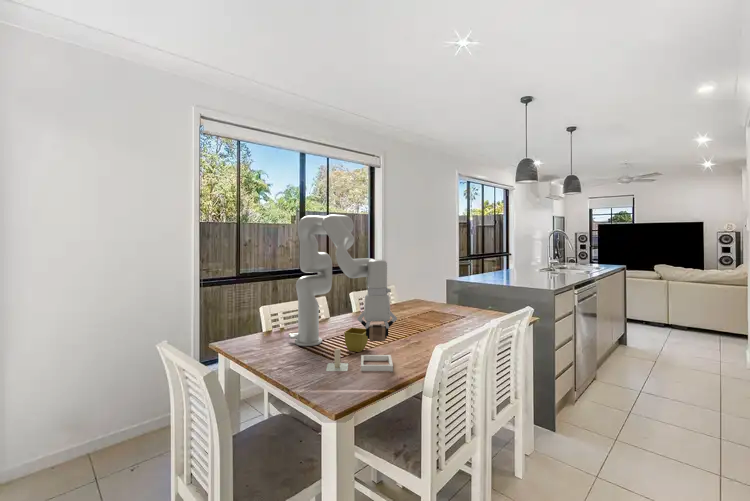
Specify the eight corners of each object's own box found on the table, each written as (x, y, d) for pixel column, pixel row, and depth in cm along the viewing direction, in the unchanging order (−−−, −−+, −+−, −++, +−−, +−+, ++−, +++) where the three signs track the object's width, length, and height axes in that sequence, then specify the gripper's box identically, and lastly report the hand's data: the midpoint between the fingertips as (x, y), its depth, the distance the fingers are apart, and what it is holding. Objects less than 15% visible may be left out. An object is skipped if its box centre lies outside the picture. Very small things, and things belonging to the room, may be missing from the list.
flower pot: (369, 348, 163) (369, 329, 163) (362, 355, 155) (362, 334, 154) (351, 346, 166) (351, 327, 166) (343, 352, 158) (343, 332, 157)
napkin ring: (369, 336, 144) (369, 324, 144) (384, 336, 144) (384, 324, 144) (369, 341, 138) (369, 328, 138) (385, 341, 138) (385, 328, 138)
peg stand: (325, 372, 135) (325, 352, 135) (327, 364, 143) (328, 346, 143) (347, 372, 135) (347, 352, 135) (348, 364, 143) (348, 346, 143)
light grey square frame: (360, 372, 136) (360, 365, 135) (361, 361, 148) (361, 355, 147) (392, 372, 136) (393, 365, 136) (390, 361, 148) (390, 355, 148)
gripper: (398, 290, 144) (398, 335, 145) (355, 290, 144) (355, 335, 145) (400, 293, 137) (400, 340, 138) (354, 293, 136) (354, 340, 137)
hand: (377, 337), depth 141 cm, fingers closed on napkin ring, 6 cm apart
